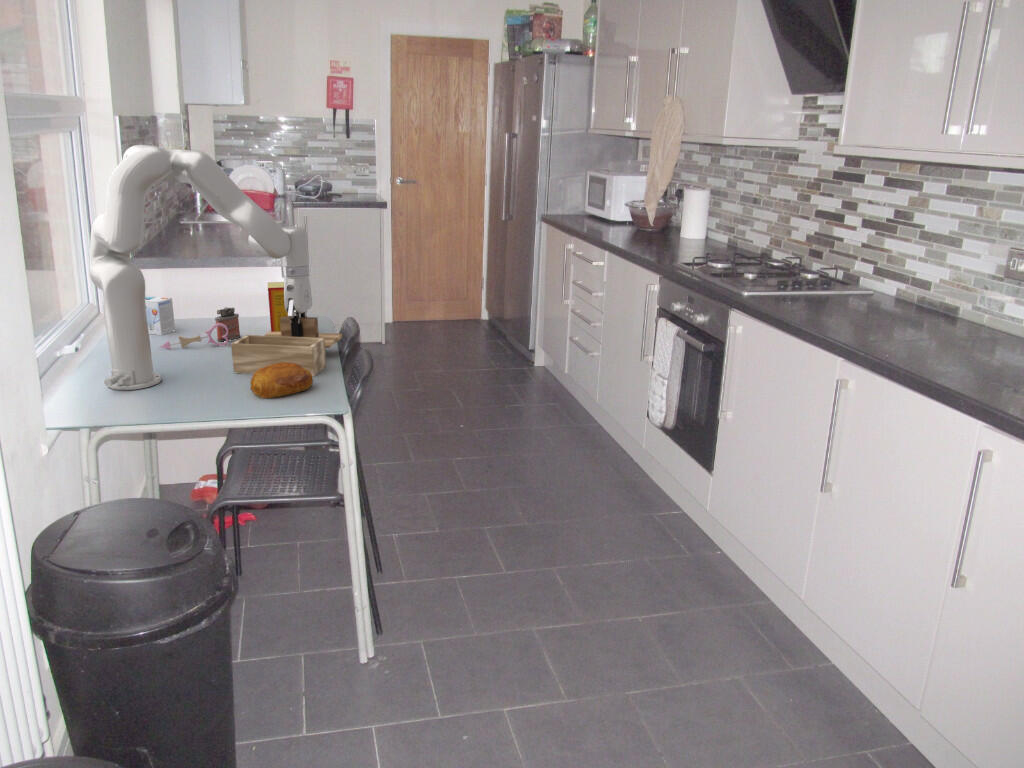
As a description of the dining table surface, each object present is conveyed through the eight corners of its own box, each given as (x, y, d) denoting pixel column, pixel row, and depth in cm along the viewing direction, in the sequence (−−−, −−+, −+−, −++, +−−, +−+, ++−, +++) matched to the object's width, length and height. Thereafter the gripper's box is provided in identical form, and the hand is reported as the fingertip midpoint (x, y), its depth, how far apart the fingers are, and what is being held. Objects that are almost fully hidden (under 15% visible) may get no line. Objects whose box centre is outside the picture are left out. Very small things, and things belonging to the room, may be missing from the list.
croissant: (321, 398, 206) (324, 368, 204) (263, 403, 195) (266, 371, 193) (293, 384, 216) (295, 354, 214) (236, 387, 205) (238, 356, 203)
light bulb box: (133, 332, 257) (129, 299, 254) (148, 328, 263) (144, 295, 260) (162, 335, 254) (158, 301, 251) (176, 330, 260) (172, 297, 257)
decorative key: (162, 358, 241) (231, 343, 246) (162, 359, 240) (231, 344, 245) (155, 336, 238) (225, 321, 243) (155, 337, 237) (225, 322, 242)
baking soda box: (271, 330, 262) (267, 281, 257) (292, 329, 264) (288, 280, 259) (271, 337, 254) (267, 286, 249) (293, 336, 255) (289, 286, 251)
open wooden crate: (314, 376, 216) (312, 347, 213) (233, 373, 218) (231, 344, 215) (325, 366, 225) (324, 338, 223) (249, 362, 227) (246, 334, 225)
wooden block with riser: (332, 349, 230) (330, 323, 228) (257, 346, 232) (254, 321, 230) (342, 340, 239) (341, 315, 237) (270, 338, 242) (268, 313, 239)
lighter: (235, 336, 255) (232, 304, 252) (243, 337, 253) (240, 306, 250) (214, 341, 248) (211, 309, 245) (222, 343, 246) (219, 311, 243)
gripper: (298, 277, 221) (302, 342, 227) (317, 267, 237) (321, 328, 242) (271, 276, 222) (276, 341, 228) (292, 266, 238) (297, 327, 243)
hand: (299, 334), depth 235 cm, fingers closed on wooden block with riser, 3 cm apart
